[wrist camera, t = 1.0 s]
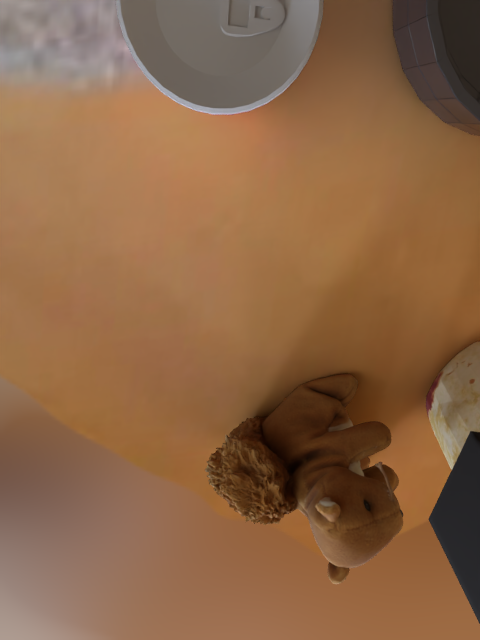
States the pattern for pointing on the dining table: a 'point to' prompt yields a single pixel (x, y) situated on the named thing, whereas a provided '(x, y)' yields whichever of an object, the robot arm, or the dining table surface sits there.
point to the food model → (456, 402)
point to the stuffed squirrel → (314, 473)
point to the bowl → (442, 56)
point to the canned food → (221, 48)
